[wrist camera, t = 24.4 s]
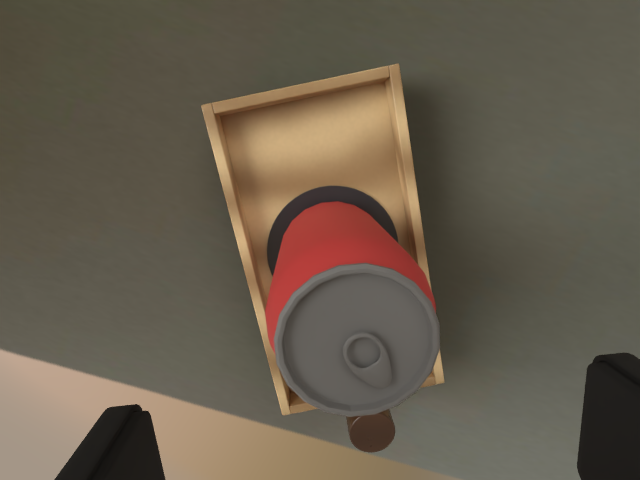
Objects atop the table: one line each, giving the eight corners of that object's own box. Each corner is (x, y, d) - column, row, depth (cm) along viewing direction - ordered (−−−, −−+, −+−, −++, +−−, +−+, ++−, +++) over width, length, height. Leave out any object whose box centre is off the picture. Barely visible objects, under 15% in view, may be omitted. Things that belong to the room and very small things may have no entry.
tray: (210, 109, 23) (165, 89, 15) (390, 71, 23) (431, 33, 15) (284, 394, 28) (276, 485, 20) (433, 364, 28) (481, 444, 20)
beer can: (315, 317, 25) (325, 462, 14) (260, 235, 24) (217, 317, 12) (402, 267, 25) (490, 372, 13) (350, 179, 23) (396, 208, 12)
